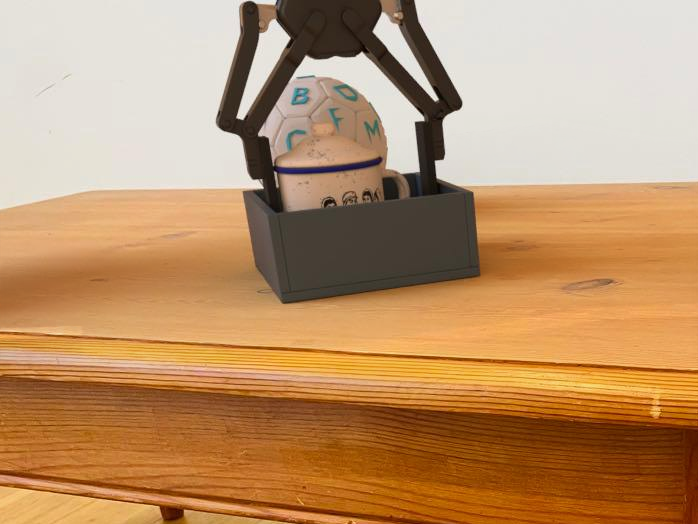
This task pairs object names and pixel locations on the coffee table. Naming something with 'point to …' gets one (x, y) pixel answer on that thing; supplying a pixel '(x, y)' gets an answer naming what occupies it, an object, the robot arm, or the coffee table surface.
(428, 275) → the bin
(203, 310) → the coffee table surface
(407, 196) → the teacup with lid
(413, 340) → the coffee table surface
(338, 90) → the puzzle ball
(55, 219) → the coffee table surface
